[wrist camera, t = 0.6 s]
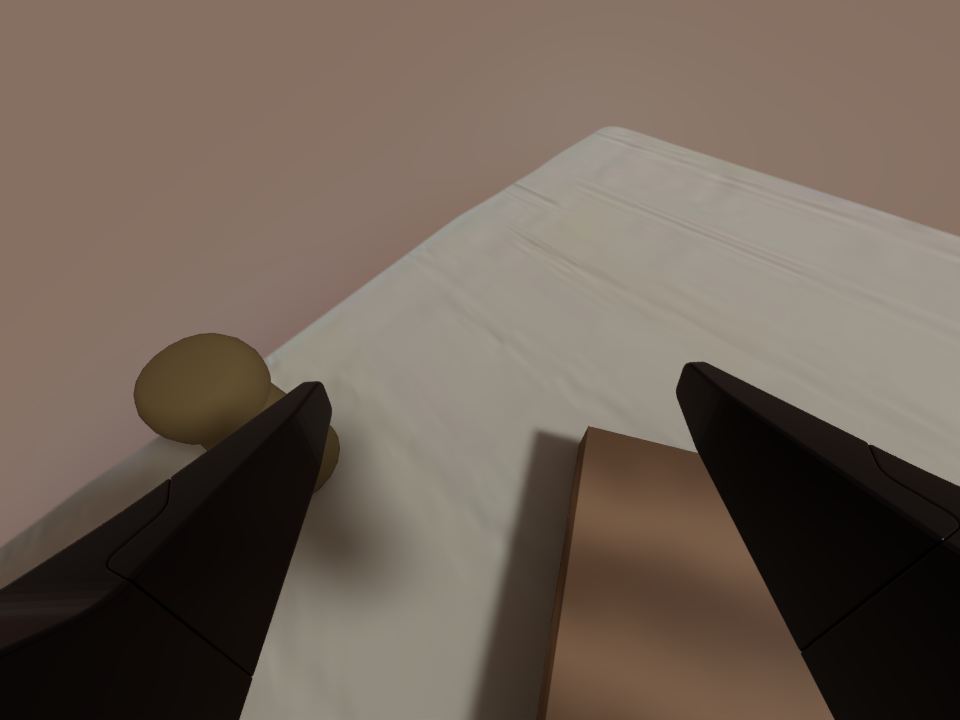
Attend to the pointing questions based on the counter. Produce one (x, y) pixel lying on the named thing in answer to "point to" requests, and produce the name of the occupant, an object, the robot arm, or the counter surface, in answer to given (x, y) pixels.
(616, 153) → the counter surface
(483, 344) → the counter surface
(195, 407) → the cork
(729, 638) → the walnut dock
